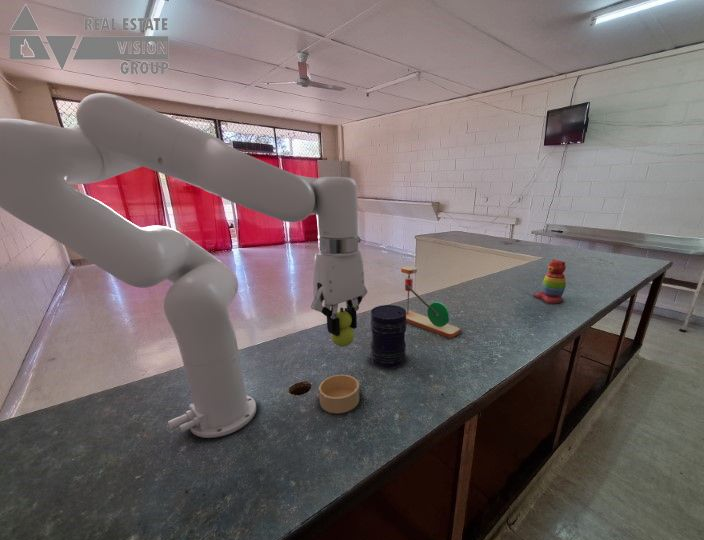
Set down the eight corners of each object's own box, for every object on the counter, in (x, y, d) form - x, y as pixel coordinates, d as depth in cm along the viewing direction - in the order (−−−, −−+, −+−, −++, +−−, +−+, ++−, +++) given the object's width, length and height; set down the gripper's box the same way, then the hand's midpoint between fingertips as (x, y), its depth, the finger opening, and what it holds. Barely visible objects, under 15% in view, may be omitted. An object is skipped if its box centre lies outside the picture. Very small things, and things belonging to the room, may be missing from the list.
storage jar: (367, 366, 87) (366, 317, 82) (374, 349, 96) (374, 303, 91) (402, 370, 86) (404, 320, 81) (407, 352, 95) (408, 306, 90)
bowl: (337, 419, 68) (336, 404, 66) (312, 401, 73) (310, 386, 72) (367, 399, 74) (367, 385, 73) (342, 383, 80) (341, 370, 78)
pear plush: (341, 353, 66) (340, 314, 63) (327, 345, 69) (325, 307, 65) (358, 344, 69) (358, 307, 66) (344, 338, 72) (343, 301, 69)
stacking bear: (532, 295, 146) (539, 258, 140) (550, 294, 149) (558, 257, 143) (549, 304, 137) (558, 264, 130) (568, 302, 139) (577, 262, 133)
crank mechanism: (394, 317, 119) (395, 267, 112) (405, 312, 124) (407, 264, 117) (450, 338, 104) (455, 282, 97) (461, 332, 109) (466, 278, 102)
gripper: (357, 237, 69) (359, 314, 76) (289, 248, 57) (298, 337, 64) (382, 242, 65) (382, 323, 71) (314, 254, 53) (321, 350, 59)
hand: (342, 329), depth 67 cm, fingers closed on pear plush, 4 cm apart
